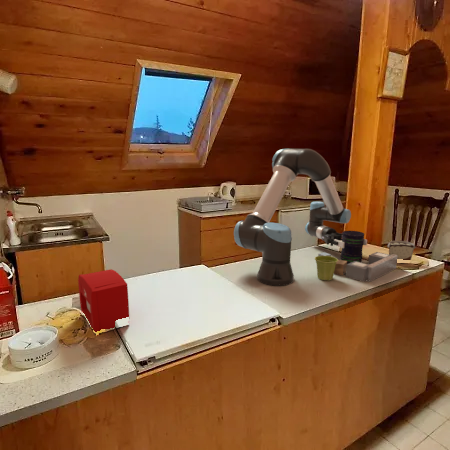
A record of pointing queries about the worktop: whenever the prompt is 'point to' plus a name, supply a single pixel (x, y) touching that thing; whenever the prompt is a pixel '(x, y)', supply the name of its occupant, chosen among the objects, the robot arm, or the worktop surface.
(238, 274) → the worktop surface
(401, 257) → the food container
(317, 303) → the worktop surface
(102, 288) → the fire alarm
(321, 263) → the plant pot
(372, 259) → the block
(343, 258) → the rusty oil drum
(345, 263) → the walnut block
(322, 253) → the bluegrey block
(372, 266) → the rail
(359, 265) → the module block
